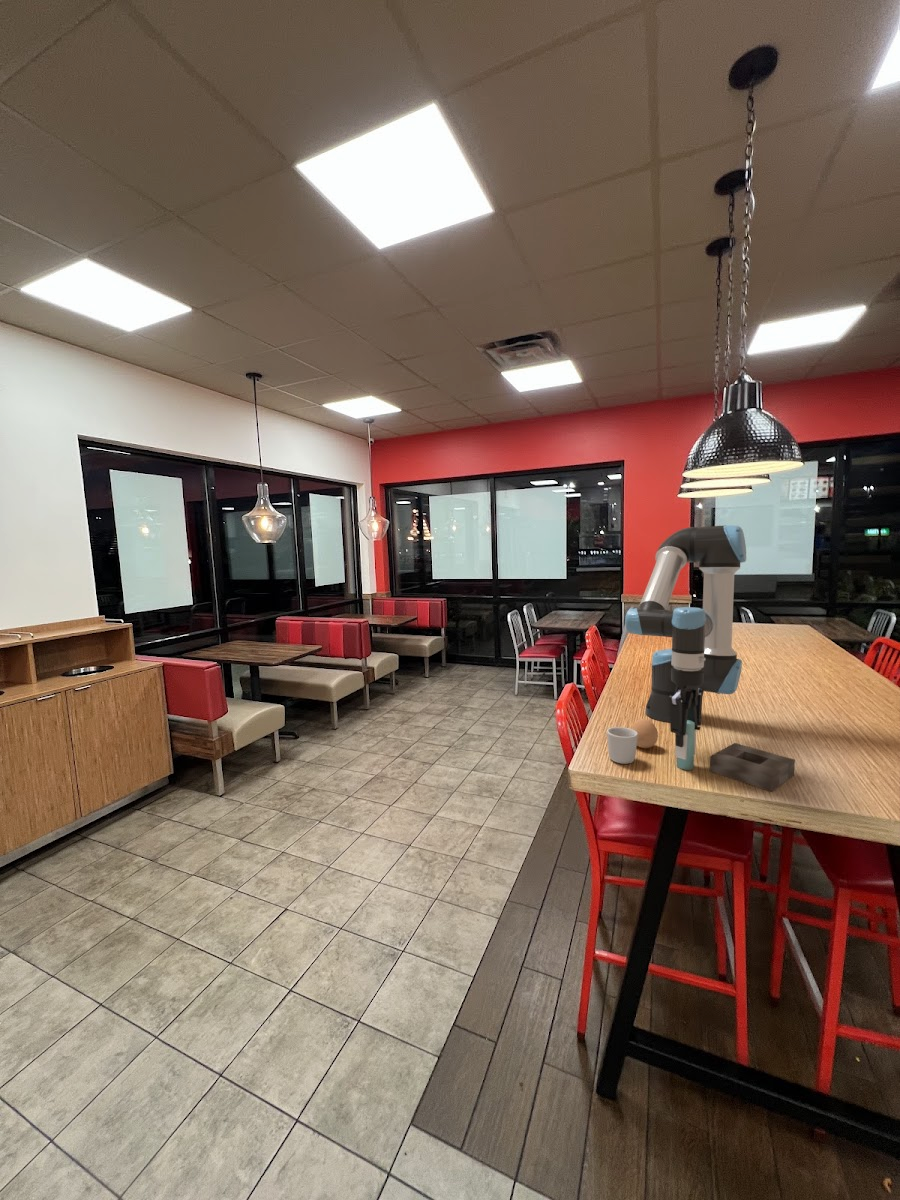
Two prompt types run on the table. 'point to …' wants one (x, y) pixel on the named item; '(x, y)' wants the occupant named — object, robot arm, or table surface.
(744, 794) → the table surface
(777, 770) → the socket
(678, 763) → the peg
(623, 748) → the cup
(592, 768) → the table surface
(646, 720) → the egg
